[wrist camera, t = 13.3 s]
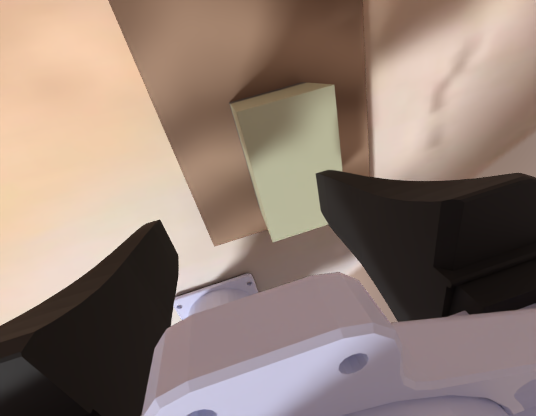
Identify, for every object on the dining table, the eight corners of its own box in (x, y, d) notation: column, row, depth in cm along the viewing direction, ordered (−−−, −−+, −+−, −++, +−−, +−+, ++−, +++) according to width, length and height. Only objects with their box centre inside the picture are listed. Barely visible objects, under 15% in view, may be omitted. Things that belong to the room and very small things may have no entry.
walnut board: (361, 189, 24) (370, 196, 22) (214, 236, 23) (214, 246, 21) (345, -84, 15) (358, -100, 14) (103, -27, 14) (92, -38, 13)
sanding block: (317, 188, 21) (346, 218, 17) (259, 206, 21) (272, 242, 16) (301, 82, 17) (334, 84, 13) (229, 102, 17) (236, 112, 12)
